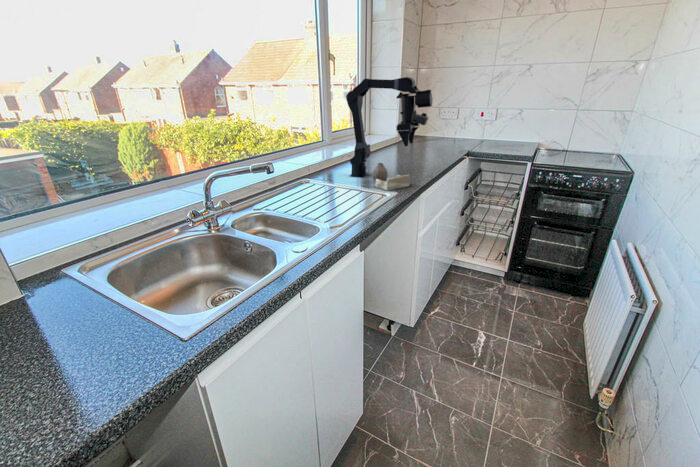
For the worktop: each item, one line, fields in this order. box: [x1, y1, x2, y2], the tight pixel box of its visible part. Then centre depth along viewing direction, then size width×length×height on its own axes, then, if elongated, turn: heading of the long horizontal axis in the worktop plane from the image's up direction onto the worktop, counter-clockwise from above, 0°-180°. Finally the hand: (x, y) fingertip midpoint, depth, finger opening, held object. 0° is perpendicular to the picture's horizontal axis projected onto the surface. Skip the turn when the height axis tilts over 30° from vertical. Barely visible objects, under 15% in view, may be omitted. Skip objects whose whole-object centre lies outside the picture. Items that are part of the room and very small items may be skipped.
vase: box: [372, 162, 388, 182], centre depth 153 cm, size 7×7×9 cm
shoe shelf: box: [374, 174, 411, 192], centre depth 147 cm, size 8×13×5 cm, turn 126°
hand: (408, 144), depth 151 cm, fingers open, 9 cm apart
